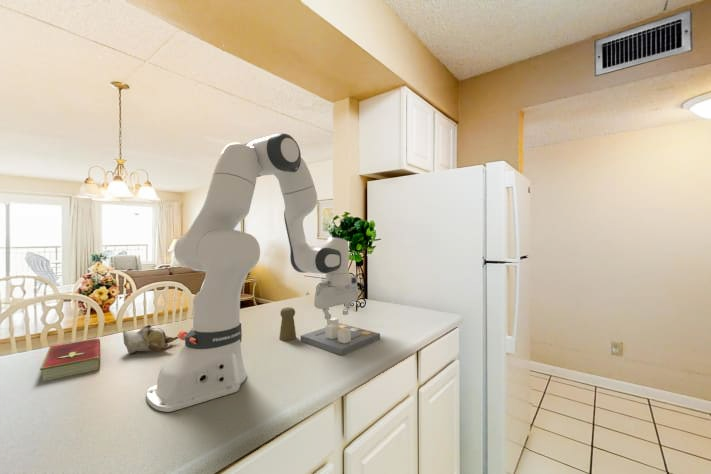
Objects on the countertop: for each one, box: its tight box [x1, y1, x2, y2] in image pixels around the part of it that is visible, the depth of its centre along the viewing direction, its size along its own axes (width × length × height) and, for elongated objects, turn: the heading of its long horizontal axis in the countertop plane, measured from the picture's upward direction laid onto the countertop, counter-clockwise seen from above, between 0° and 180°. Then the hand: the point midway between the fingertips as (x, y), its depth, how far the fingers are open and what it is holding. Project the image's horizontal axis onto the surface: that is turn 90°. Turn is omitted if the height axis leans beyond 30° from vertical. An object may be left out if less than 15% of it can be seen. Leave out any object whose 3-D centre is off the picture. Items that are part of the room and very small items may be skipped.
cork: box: [279, 307, 297, 342], centre depth 114 cm, size 6×6×11 cm
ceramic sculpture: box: [122, 324, 179, 355], centre depth 103 cm, size 11×9×15 cm
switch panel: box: [300, 322, 381, 356], centre depth 112 cm, size 20×20×2 cm
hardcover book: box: [39, 337, 101, 382], centre depth 93 cm, size 12×21×4 cm, turn 39°
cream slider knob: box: [338, 327, 351, 344], centre depth 105 cm, size 3×3×4 cm
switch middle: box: [324, 324, 338, 339], centre depth 109 cm, size 3×3×4 cm
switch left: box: [326, 316, 339, 326], centre depth 117 cm, size 3×3×4 cm
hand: (336, 316), depth 119 cm, fingers open, 8 cm apart
